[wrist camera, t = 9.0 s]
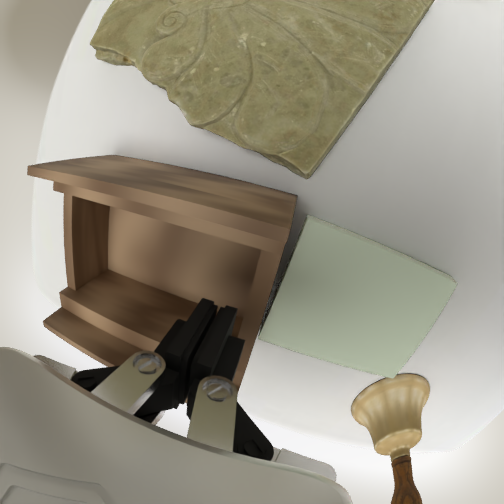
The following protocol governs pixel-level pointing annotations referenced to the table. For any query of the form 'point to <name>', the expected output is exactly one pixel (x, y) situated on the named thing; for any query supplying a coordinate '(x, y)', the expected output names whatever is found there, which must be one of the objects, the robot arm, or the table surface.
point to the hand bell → (395, 425)
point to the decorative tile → (263, 64)
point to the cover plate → (354, 301)
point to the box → (161, 252)
